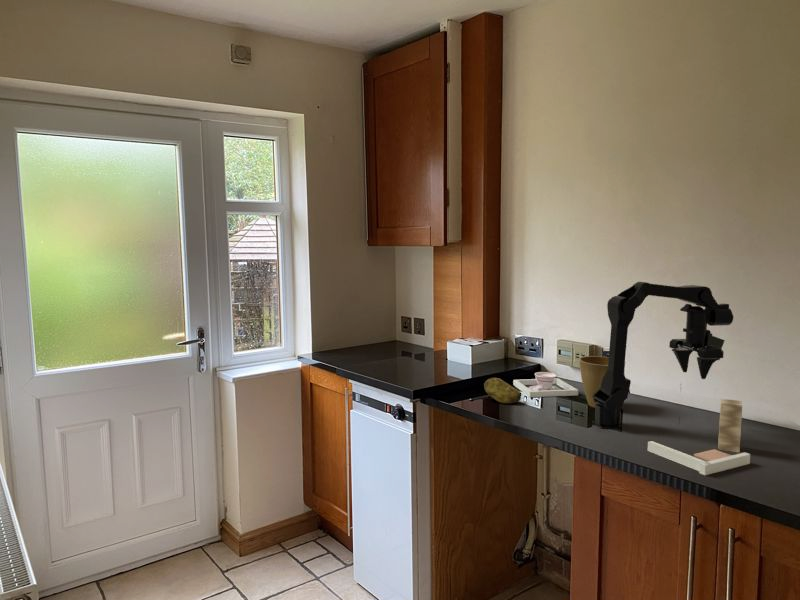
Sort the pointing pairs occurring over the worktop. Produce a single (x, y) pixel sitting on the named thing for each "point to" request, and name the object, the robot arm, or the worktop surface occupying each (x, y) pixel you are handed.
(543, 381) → the teacup
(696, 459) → the corner arena
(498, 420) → the worktop surface
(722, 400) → the birch block
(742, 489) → the worktop surface
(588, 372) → the plant pot
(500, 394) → the potato
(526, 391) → the saucer tray
